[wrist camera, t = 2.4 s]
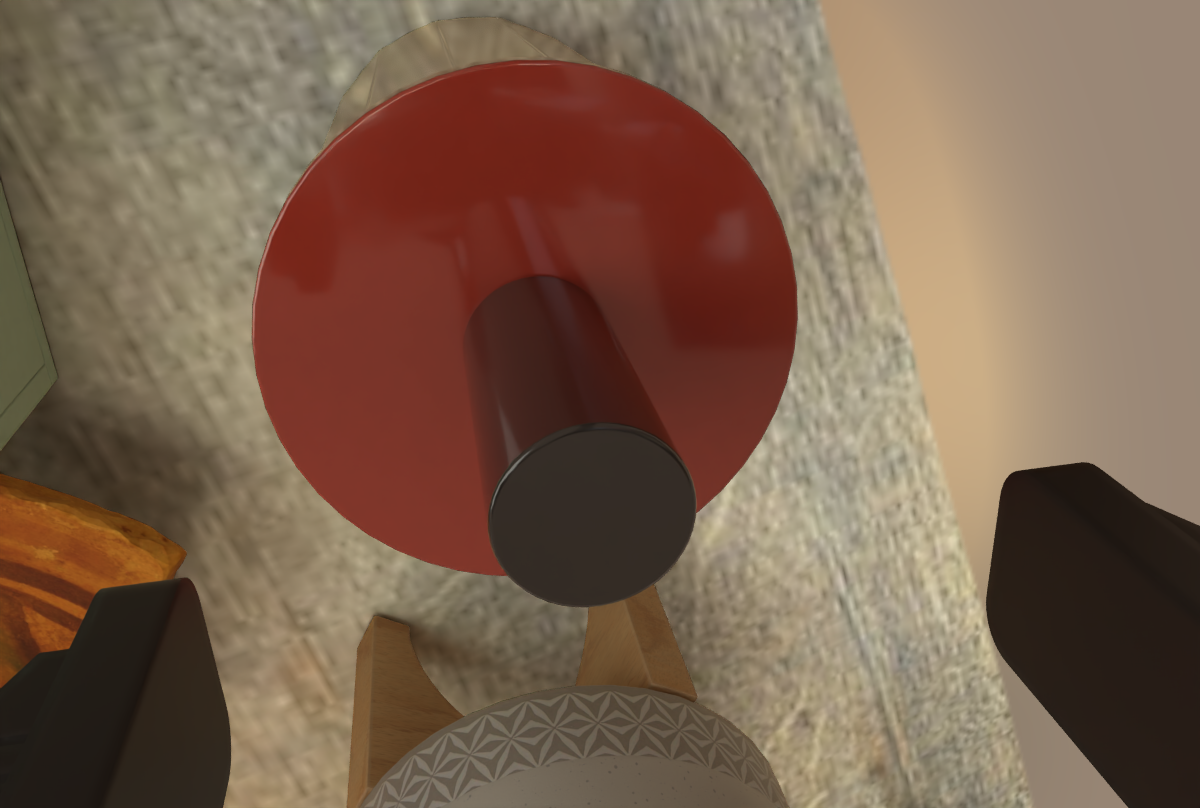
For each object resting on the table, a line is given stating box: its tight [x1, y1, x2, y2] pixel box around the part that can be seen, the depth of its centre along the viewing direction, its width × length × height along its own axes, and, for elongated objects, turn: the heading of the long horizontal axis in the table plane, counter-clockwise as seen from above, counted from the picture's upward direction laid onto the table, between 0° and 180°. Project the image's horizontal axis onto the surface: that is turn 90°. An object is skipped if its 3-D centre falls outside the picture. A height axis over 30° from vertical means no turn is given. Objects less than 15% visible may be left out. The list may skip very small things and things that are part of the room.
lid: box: [252, 57, 798, 607], centre depth 14 cm, size 9×9×7 cm
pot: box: [321, 17, 594, 150], centre depth 23 cm, size 8×8×14 cm
